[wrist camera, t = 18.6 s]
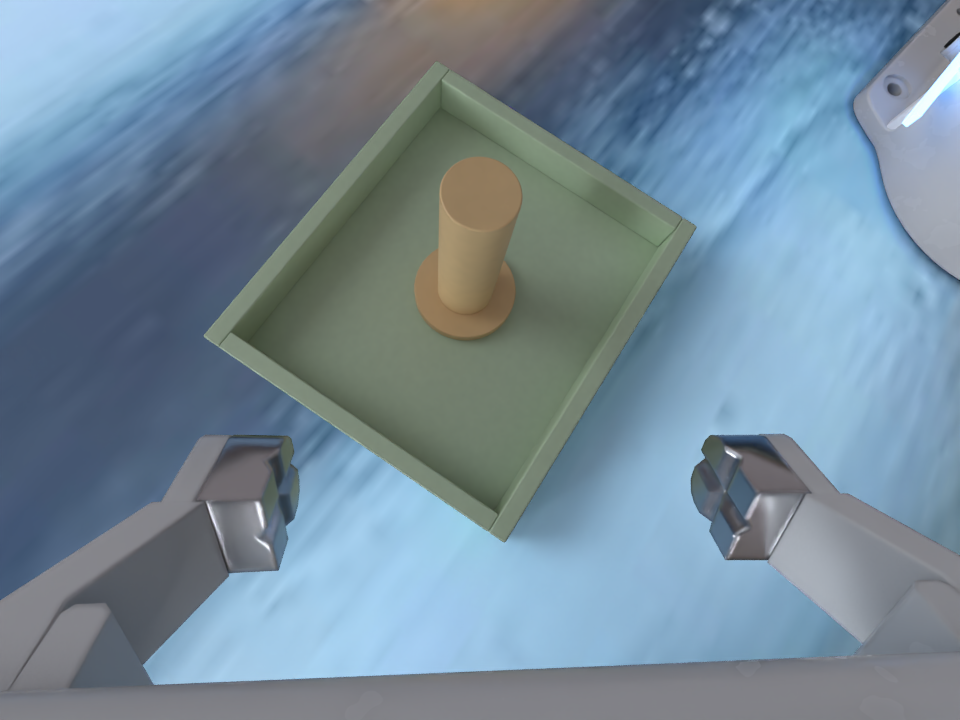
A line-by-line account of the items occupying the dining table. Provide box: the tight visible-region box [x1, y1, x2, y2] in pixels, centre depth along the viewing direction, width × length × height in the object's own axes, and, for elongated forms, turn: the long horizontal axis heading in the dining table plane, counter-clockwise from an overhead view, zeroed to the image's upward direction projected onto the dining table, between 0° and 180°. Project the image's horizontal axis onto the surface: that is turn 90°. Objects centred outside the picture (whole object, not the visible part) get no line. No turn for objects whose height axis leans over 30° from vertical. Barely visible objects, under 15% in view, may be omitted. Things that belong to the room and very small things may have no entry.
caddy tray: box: [204, 61, 696, 542], centre depth 21 cm, size 17×15×10 cm
